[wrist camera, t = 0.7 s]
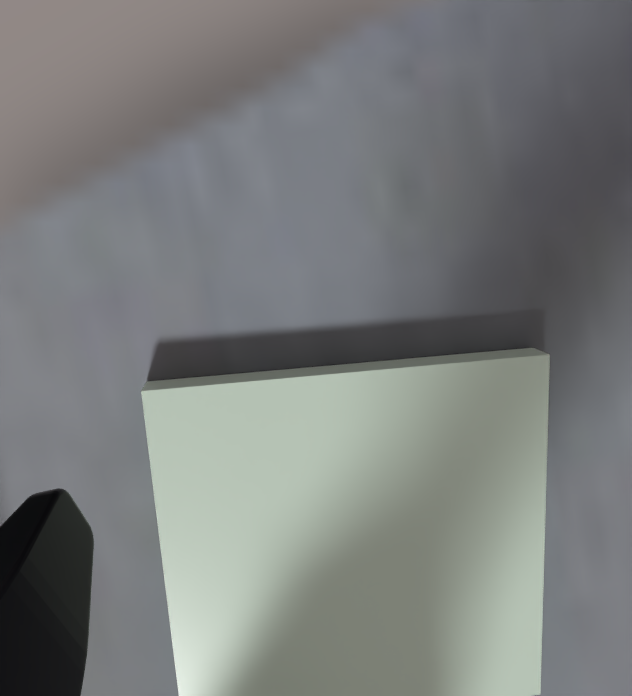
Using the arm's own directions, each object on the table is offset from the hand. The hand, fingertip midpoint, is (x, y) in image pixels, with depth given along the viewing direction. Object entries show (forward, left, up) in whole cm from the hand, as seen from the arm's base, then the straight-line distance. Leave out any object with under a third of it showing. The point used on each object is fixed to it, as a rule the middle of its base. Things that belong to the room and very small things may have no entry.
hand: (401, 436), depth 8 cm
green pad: (-9, -2, -13) cm, 16 cm away
